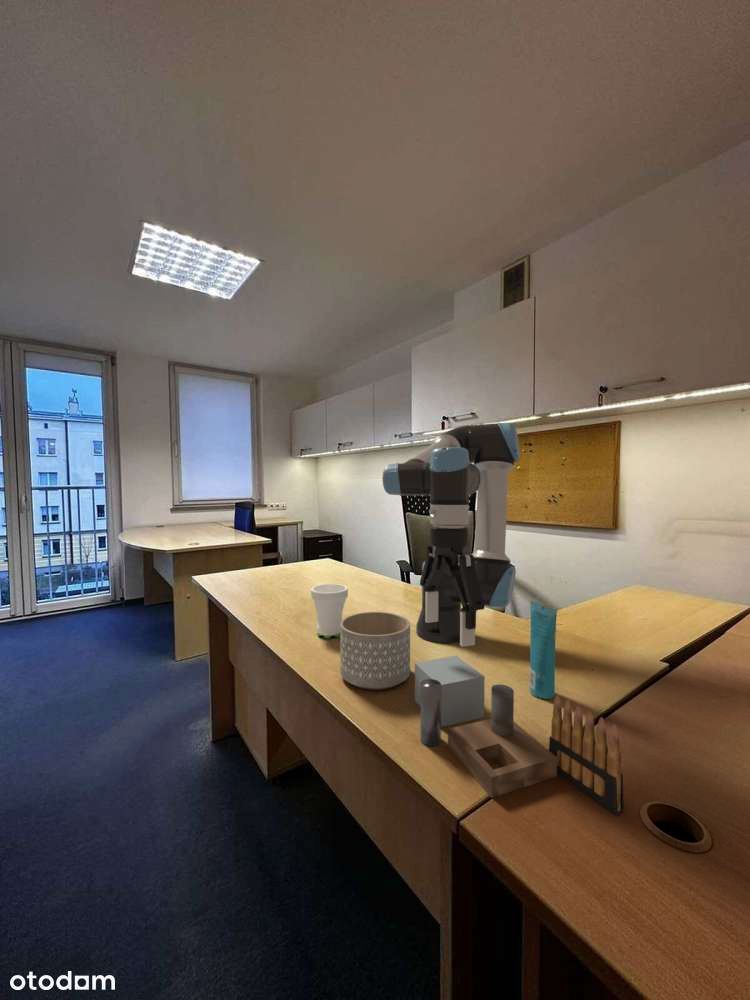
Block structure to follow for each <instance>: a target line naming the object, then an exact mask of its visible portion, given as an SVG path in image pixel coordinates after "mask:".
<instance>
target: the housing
mask: <svg viewBox="0 0 750 1000" xmlns="http://www.w3.org/2000/svg"><path fill="white" fill-rule="evenodd" d="M425 679H434V680H437V681H439V682H440V683H441V728H445V727H448V726H452V725H458V724H461V723H466V722H469V721H474V720H479V719H482V718H485V676H484V675H483V674H482V673H480V672H479V671H478V670H477V669H475V668H474V667H473V666H472V665H470V664H469V663H467V662H466V661H465V660H463V659H462V658H461V657H459V656H458V655H452V656H447V657H445V656H444V657H440V658H434V659H430V660H429V659H428V660H423V661H417V662H414V702H415V703H416V704H417V705H418V706H419V707H420V684H421V681H423V680H425Z"/></svg>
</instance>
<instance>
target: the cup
mask: <svg viewBox="0 0 750 1000" xmlns="http://www.w3.org/2000/svg"><path fill="white" fill-rule="evenodd" d="M348 596H349V587H348V586H347V585H345V584H339V583H322V584H318V585H314V586H313V587H311V589H310V597H311V599H312V600H313V604H314V607H315V610H316V616H317V625H316V633H317V634H316V635H317V636H318V637H319V636H322V637H323V638H325V639H326V638H327V639H326V640H330V639H331V638H332V637H334V636H335V638H340V623H341V621H342V620H343V618H342V617H343V610H344V605H345V603H346V600H347V599H348Z"/></svg>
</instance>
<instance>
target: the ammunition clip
mask: <svg viewBox="0 0 750 1000" xmlns="http://www.w3.org/2000/svg"><path fill="white" fill-rule="evenodd" d="M562 710H563V711H562ZM608 739H609V740H608ZM608 739H607V727H606V722H605V719H604V717H602V716H601V717H600V718H599V720H598V722H597V727H596V738H595V722H594V717H593V714H592V712H591V710H588V712H587V714H586V717H585V723H583V713H582V708H581V707H580V705H579V704H577V705H576V707H575V710H574V715H573V711H572V706H571V701H570V700H569V699H566V700H565V702H564V706H563V709H562V701H561V697H560V695H559V694H556V695H555V696H554V701H553V708H552V718H551V736H549V741H548V742H549V743H548V744H549V745H548V750H549V751H550V752H551V753H552V754H554V755H555V756H556V757H557V776H559V777H561V778H562V779H563V780H565V781H566V782H568V783H569V784H570V785H572V786H573V787H575V788H576V789H577V790H579V791H580V792H581V793H583V794H584V795H586V796H587V797H589V798H590V799H591V800H593V801H594V802H596V803H597V804H598V805H600V806H601V807H603V809H605V810H607V811H608V812H609V813H611V814H612V815H614V816H615V817H616V816H618V815H620V814H621V813H623V812H624V811H625V805H624V774H623V773H622V755H621V750H620V749H621V748H620V747H621V746H620V733H619V729H618V727H617V725H616V723H613V724H612V726H611V728H610V732H609V738H608ZM608 741H609V743H607V742H608Z"/></svg>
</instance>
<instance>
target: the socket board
mask: <svg viewBox="0 0 750 1000" xmlns="http://www.w3.org/2000/svg"><path fill="white" fill-rule="evenodd" d="M514 692H515V691H514V689H513V688H512V687H510V686H508V685H506V684H495V685H492V686H491V704H490V705H491V708H490V709H491V713H490V714H491V716H490V717H491V718H487V719H483V720H479V721H475V722H472V723H467V724H463V725H459V726H458V725H457V726H454V727H451V728H447V747H448V748H449V749H450V750H451V752H452V753H453V754H454V755H455V756H456V758H457V759H458V760H459V761H460V763H462V765H463V766H464V767H465V768H466V770H467V771H468V772H469V774H471V776H472V777H473V778H474V780H476V781H477V783H478V784H479V785H480V786H481V787H482V788H483V790H484V791H485V792H486V794H488V796H489V797H490V798H491V799H494V798H496V797H499V796H502V795H505V794H508V793H511V792H514V791H517V790H520V789H523V788H526V787H530V786H533V785H536V784H539V783H541V782H544V781H548V780H550V779H551V780H552V779H554V778H557V777H558V774H557V757H556V756H555V755H554V754H552V753H551V752H550V751H549V749H548V748H546V747H545V746H544V745H542V743H541V742H539V741H538V740H537V739H535V738H534V736H532V735H530V733H528V732H527V731H526V730H525V729H523V727H521V726H520V725H518V724H517V723H516V722H515V721H514V716H515V715H514V709H515V707H514V704H515V700H514V699H515V693H514ZM497 763H500V764H501V765H502V767H498V768H495V769H493V767H492V766H491V765H492V764H497Z"/></svg>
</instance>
